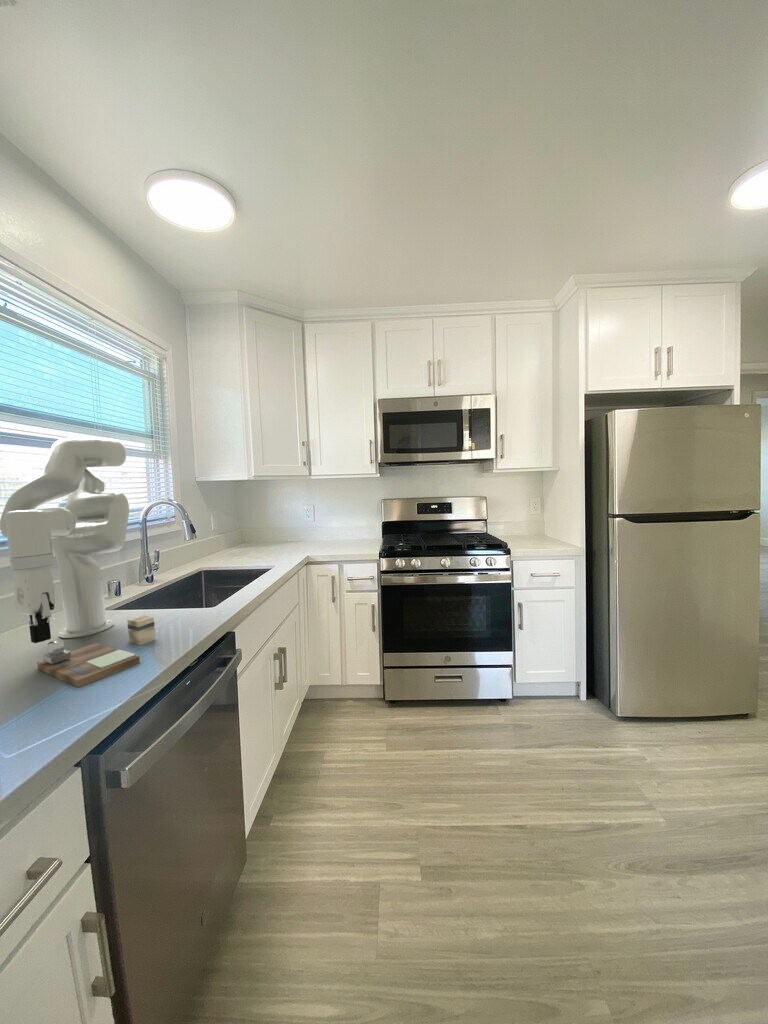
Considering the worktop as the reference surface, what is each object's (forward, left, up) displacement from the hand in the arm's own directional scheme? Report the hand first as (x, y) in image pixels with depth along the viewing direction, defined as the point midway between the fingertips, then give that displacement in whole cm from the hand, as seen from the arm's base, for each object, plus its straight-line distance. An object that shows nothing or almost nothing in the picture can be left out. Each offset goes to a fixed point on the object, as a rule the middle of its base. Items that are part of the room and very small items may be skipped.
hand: (41, 640), depth 93 cm
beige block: (+8, +18, -6) cm, 21 cm away
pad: (+17, +6, -4) cm, 19 cm away
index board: (+12, +4, -6) cm, 14 cm away
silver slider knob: (+6, 0, -4) cm, 7 cm away
